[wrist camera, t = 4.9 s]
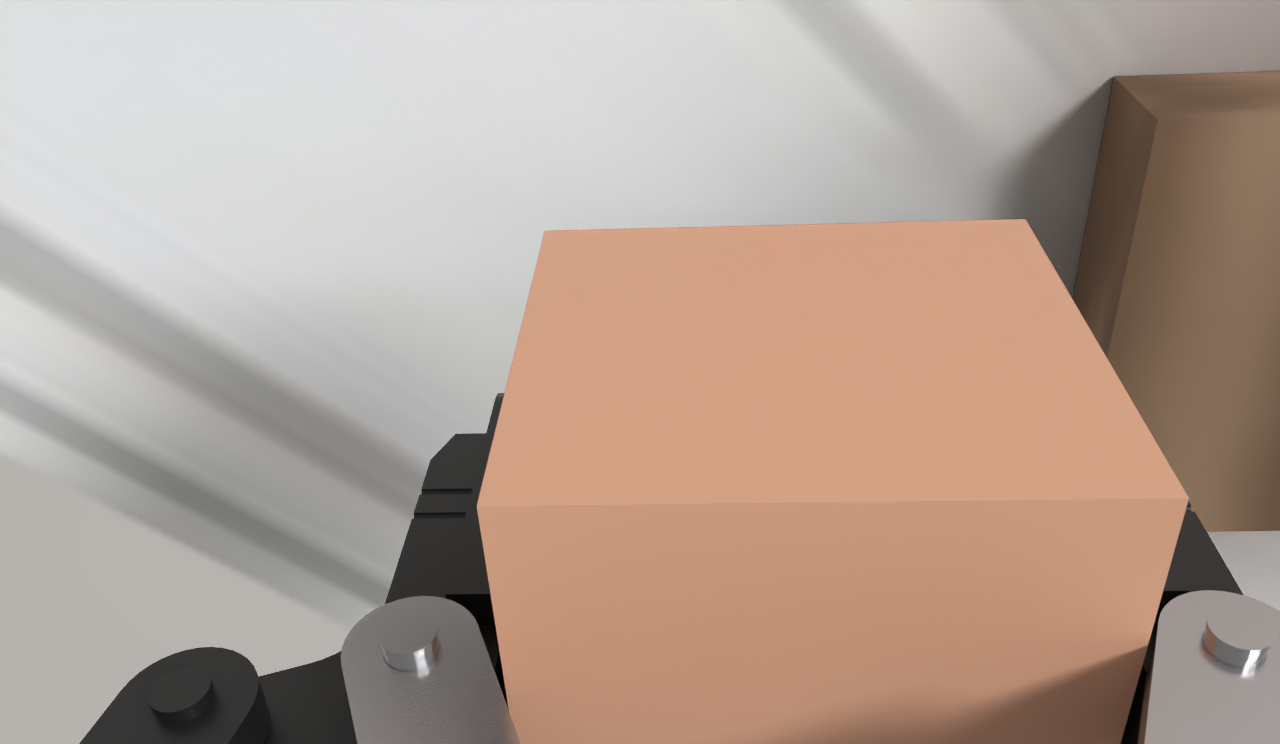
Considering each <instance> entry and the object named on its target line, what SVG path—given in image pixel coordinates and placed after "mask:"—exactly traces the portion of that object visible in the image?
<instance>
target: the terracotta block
mask: <svg viewBox="0 0 1280 744" xmlns="http://www.w3.org/2000/svg"><path fill="white" fill-rule="evenodd" d="M1188 500H1189V497H1188V496H1187V494H1186V492H1185V491H1184V489H1183V487H1182V485H1181V484H1180V482H1179V480H1178V479H1177V477H1176V475H1175V473H1174V472H1173V470H1172V468H1171V467H1170V465H1169V463H1168V461H1167V460H1166V458H1165V456H1164V455H1163V453H1162V451H1161V450H1160V448H1159V446H1158V444H1157V443H1156V441H1155V439H1154V438H1153V436H1152V434H1151V432H1150V431H1149V429H1148V427H1147V426H1146V424H1145V422H1144V421H1143V419H1142V417H1141V415H1140V414H1139V412H1138V410H1137V409H1136V407H1135V405H1134V403H1133V402H1132V400H1131V398H1130V397H1129V395H1128V393H1127V391H1126V390H1125V388H1124V386H1123V385H1122V383H1121V381H1120V380H1119V378H1118V376H1117V374H1116V373H1115V371H1114V369H1113V368H1112V366H1111V364H1110V362H1109V361H1108V359H1107V357H1106V356H1105V354H1104V352H1103V350H1102V349H1101V347H1100V345H1099V344H1098V342H1097V340H1096V339H1095V337H1094V335H1093V333H1092V332H1091V330H1090V328H1089V327H1088V325H1087V323H1086V321H1085V320H1084V318H1083V316H1082V315H1081V313H1080V311H1079V310H1078V308H1077V306H1076V304H1075V303H1074V301H1073V299H1072V298H1071V296H1070V294H1069V292H1068V291H1067V289H1066V287H1065V286H1064V284H1063V282H1062V280H1061V279H1060V277H1059V275H1058V274H1057V272H1056V270H1055V269H1054V267H1053V265H1052V263H1051V262H1050V260H1049V258H1048V257H1047V255H1046V253H1045V251H1044V250H1043V248H1042V246H1041V245H1040V243H1039V241H1038V240H1037V238H1036V236H1035V234H1034V233H1033V231H1032V229H1031V228H1030V226H1029V224H1028V222H1027V221H1026V219H1004V220H964V221H923V222H882V223H841V224H801V225H760V226H719V227H678V228H638V229H597V230H556V231H545V232H544V236H543V240H542V244H541V248H540V252H539V256H538V260H537V264H536V268H535V272H534V276H533V280H532V284H531V288H530V292H529V296H528V300H527V304H526V308H525V313H524V317H523V321H522V325H521V329H520V333H519V337H518V341H517V345H516V349H515V353H514V357H513V361H512V365H511V369H510V373H509V377H508V381H507V385H506V389H505V393H504V398H503V402H502V406H501V410H500V414H499V418H498V422H497V426H496V430H495V434H494V438H493V442H492V446H491V450H490V454H489V458H488V462H487V466H486V470H485V474H484V478H483V482H482V487H481V491H480V495H479V499H478V503H477V512H478V518H479V524H480V531H481V537H482V543H483V550H484V556H485V562H486V569H487V575H488V581H489V588H490V594H491V600H492V607H493V613H494V619H495V626H496V632H497V638H498V645H499V651H500V657H501V664H502V670H503V676H504V683H505V689H506V695H507V702H508V708H509V713H510V716H511V718H512V721H513V724H514V727H515V730H516V732H517V735H518V738H519V741H520V744H1121V740H1122V737H1123V733H1124V729H1125V726H1126V722H1127V719H1128V715H1129V712H1130V708H1131V704H1132V701H1133V697H1134V694H1135V690H1136V686H1137V683H1138V679H1139V676H1140V672H1141V669H1142V665H1143V661H1144V658H1145V654H1146V651H1147V647H1148V643H1149V640H1150V636H1151V633H1152V629H1153V626H1154V622H1155V618H1156V615H1157V611H1158V608H1159V604H1160V600H1161V597H1162V593H1163V590H1164V586H1165V583H1166V579H1167V575H1168V572H1169V568H1170V565H1171V561H1172V558H1173V554H1174V550H1175V547H1176V543H1177V540H1178V536H1179V532H1180V529H1181V525H1182V522H1183V518H1184V515H1185V511H1186V507H1187V504H1188Z"/></svg>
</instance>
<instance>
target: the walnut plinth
mask: <svg viewBox="0 0 1280 744" xmlns="http://www.w3.org/2000/svg"><path fill="white" fill-rule="evenodd" d="M1072 299H1073V301H1074V303H1075V304H1076V306H1077V308H1078V310H1079V311H1080V313H1081V315H1082V316H1083V318H1084V320H1085V321H1086V323H1087V325H1088V327H1089V328H1090V330H1091V332H1092V333H1093V335H1094V337H1095V339H1096V340H1097V342H1098V344H1099V345H1100V347H1101V349H1102V350H1103V352H1104V354H1105V356H1106V357H1107V359H1108V361H1109V362H1110V364H1111V366H1112V368H1113V369H1114V371H1115V373H1116V374H1117V376H1118V378H1119V380H1120V381H1121V383H1122V385H1123V386H1124V388H1125V390H1126V391H1127V393H1128V395H1129V397H1130V398H1131V400H1132V402H1133V403H1134V405H1135V407H1136V409H1137V410H1138V412H1139V414H1140V415H1141V417H1142V419H1143V421H1144V422H1145V424H1146V426H1147V427H1148V429H1149V431H1150V432H1151V434H1152V436H1153V438H1154V439H1155V441H1156V443H1157V444H1158V446H1159V448H1160V450H1161V451H1162V453H1163V455H1164V456H1165V458H1166V460H1167V461H1168V463H1169V465H1170V467H1171V468H1172V470H1173V472H1174V473H1175V475H1176V477H1177V479H1178V480H1179V482H1180V484H1181V485H1182V487H1183V489H1184V491H1185V492H1186V494H1187V496H1188V497H1189V500H1188V501H1189V502H1190V504H1191V511H1192V512H1195V513H1196V514H1197V516H1198V518H1199V520H1200V521H1201V523H1202V525H1203V526H1204V528H1205V530H1206V531H1279V530H1280V71H1268V72H1237V73H1206V74H1174V75H1143V76H1114V78H1113V84H1112V89H1111V94H1110V100H1109V105H1108V110H1107V116H1106V121H1105V126H1104V132H1103V137H1102V142H1101V148H1100V153H1099V158H1098V164H1097V169H1096V174H1095V180H1094V185H1093V190H1092V196H1091V201H1090V206H1089V212H1088V217H1087V222H1086V228H1085V233H1084V238H1083V244H1082V249H1081V254H1080V260H1079V265H1078V270H1077V276H1076V281H1075V287H1074V292H1073V297H1072Z"/></svg>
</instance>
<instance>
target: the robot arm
mask: <svg viewBox="0 0 1280 744" xmlns="http://www.w3.org/2000/svg"><path fill="white" fill-rule="evenodd" d="M503 398H504V393H498V394H497V396H496V399H495V402H494V406H493V410H492V414H491V418H490V422H489V426H488V430H487V433H486V434H455V435H454V436H453V437H452V438H451V439H450V440H449V441H448V442H447V444H446V445H445V446H444V447H443V448H442V449H441V450H440V451H439V452H438V453H437V454H436V455H435V456H434V457H433V458H432V459H431V461H430V464H429V467H428V470H427V473H426V477H425V480H424V483H423V486H422V495H419V499H418V502H417V505H416V508H415V511H414V519H412V521H411V524H410V527H409V530H408V533H407V536H406V540H405V543H404V546H403V549H402V552H401V555H400V558H399V562H398V565H397V568H396V571H395V574H394V577H393V581H392V584H391V587H390V590H389V593H388V596H387V599H386V603H385V605H383V606H381V607H379V608H377V609H375V610H374V611H372V612H370V613H369V614H367V615H366V616H365V617H364V618H362V619H361V620H360V621H359V622H358V623H357V624H356V625H355V626H354V627H353V629H352V630H351V631H350V633H349V634H348V636H347V637H346V639H345V642H344V644H343V647H342V651H340V652H339V653H337V654H335V655H332V656H330V657H328V658H325V659H323V660H320V661H316V662H313V663H310V664H306V665H302V666H299V667H295V668H291V669H287V670H283V671H279V672H275V673H271V674H267V675H264V676H260V677H258V675H257V672H256V670H255V668H254V666H253V665H252V663H251V662H250V661H249V660H248V659H247V658H246V657H244V656H243V655H241V654H239V653H237V652H235V651H233V650H228V649H224V648H215V647H205V648H195V649H190V650H185V651H182V652H179V653H175V654H172V655H170V656H168V657H165V658H163V659H161V660H159V661H157V662H155V663H153V664H152V665H150V666H148V667H147V668H145V669H144V670H143V671H141V672H140V673H138V674H137V675H136V676H135V677H134V678H133V679H132V680H130V681H129V683H127V685H126V686H125V687H124V688H123V689H122V690H121V691H120V693H119V694H118V695H117V696H116V698H115V699H114V700H113V702H112V703H111V704H110V706H109V707H108V708H107V709H106V711H105V712H104V713H103V714H102V716H101V717H100V718H99V719H98V721H97V722H96V723H95V725H94V726H93V727H92V728H91V730H90V731H89V732H88V733H87V735H86V736H85V737H84V739H83V740H82V741H81V742H80V744H520V741H519V738H518V735H517V732H516V730H515V727H514V724H513V721H512V718H511V716H510V713H509V708H508V702H507V695H506V689H505V683H504V676H503V670H502V664H501V657H500V651H499V645H498V638H497V632H496V626H495V619H494V613H493V607H492V600H491V594H490V588H489V581H488V575H487V569H486V562H485V556H484V550H483V543H482V537H481V531H480V524H479V518H478V512H477V503H478V499H479V495H480V491H481V487H482V482H483V478H484V474H485V470H486V466H487V462H488V458H489V454H490V450H491V446H492V442H493V438H494V434H495V430H496V426H497V422H498V418H499V414H500V410H501V406H502V402H503ZM1121 744H1280V612H1279V611H1278V610H1276V609H1275V608H1273V607H1271V606H1269V605H1267V604H1265V603H1263V602H1260V601H1258V600H1255V599H1253V598H1250V597H1247V596H1244V595H1243V593H1242V592H1241V590H1240V588H1239V587H1238V585H1237V583H1236V581H1235V580H1234V578H1233V576H1232V575H1231V573H1230V571H1229V569H1228V568H1227V566H1226V564H1225V563H1224V561H1223V559H1222V557H1221V556H1220V554H1219V552H1218V551H1217V549H1216V547H1215V545H1214V544H1213V542H1212V540H1211V539H1210V537H1209V535H1208V533H1207V532H1206V530H1205V528H1204V526H1203V525H1202V523H1201V521H1200V520H1199V518H1198V516H1197V514H1196V513H1195V512H1192V511H1191V504H1190V502H1189V501H1188V504H1187V507H1186V511H1185V515H1184V518H1183V522H1182V525H1181V529H1180V532H1179V536H1178V540H1177V543H1176V547H1175V550H1174V554H1173V558H1172V561H1171V565H1170V568H1169V572H1168V575H1167V579H1166V583H1165V586H1164V590H1163V593H1162V597H1161V600H1160V604H1159V608H1158V611H1157V615H1156V618H1155V622H1154V626H1153V629H1152V633H1151V636H1150V640H1149V643H1148V647H1147V651H1146V654H1145V658H1144V661H1143V665H1142V669H1141V672H1140V676H1139V679H1138V683H1137V686H1136V690H1135V694H1134V697H1133V701H1132V704H1131V708H1130V712H1129V715H1128V719H1127V722H1126V726H1125V729H1124V733H1123V737H1122V740H1121Z"/></svg>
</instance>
